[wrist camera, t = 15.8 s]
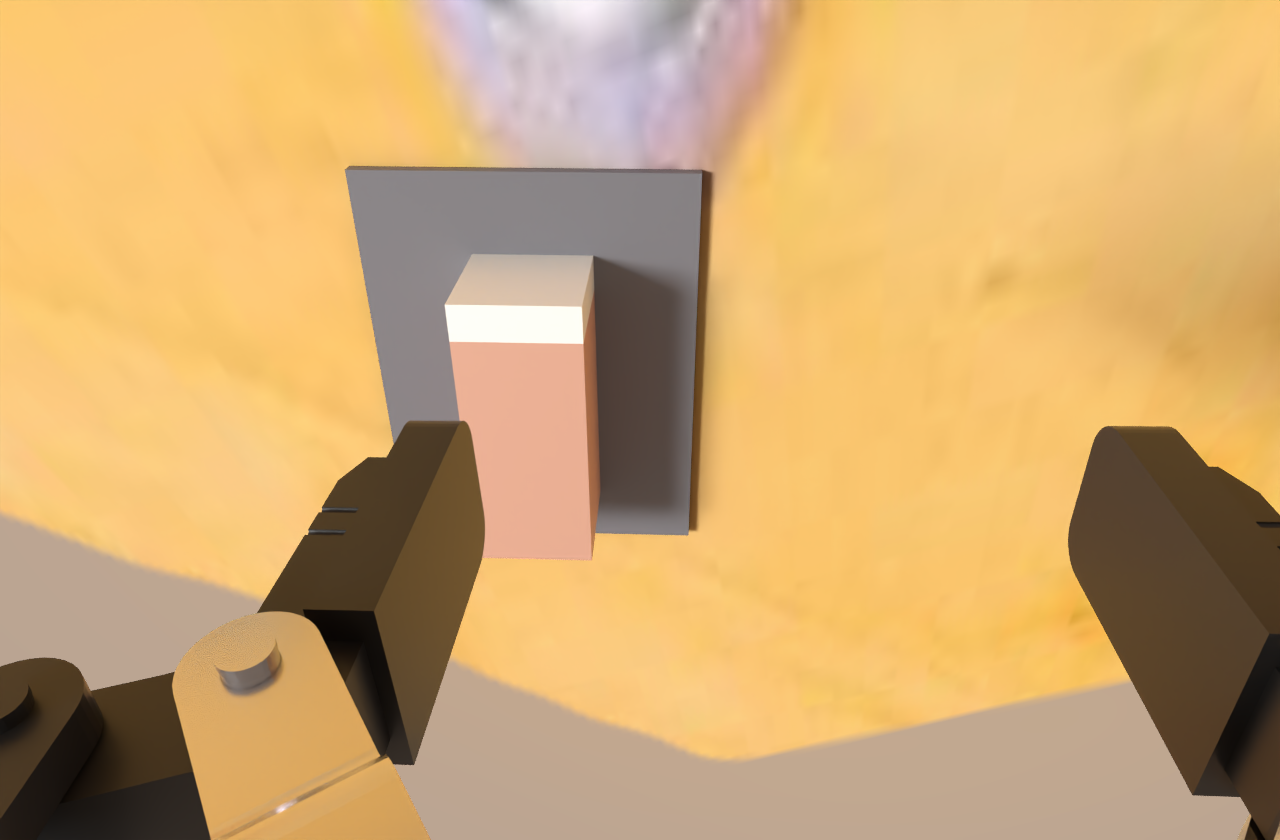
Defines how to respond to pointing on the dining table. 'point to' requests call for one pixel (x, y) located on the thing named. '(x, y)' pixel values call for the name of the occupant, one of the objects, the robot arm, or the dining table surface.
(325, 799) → the robot arm
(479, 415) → the block
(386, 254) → the mat
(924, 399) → the dining table surface
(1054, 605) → the dining table surface
